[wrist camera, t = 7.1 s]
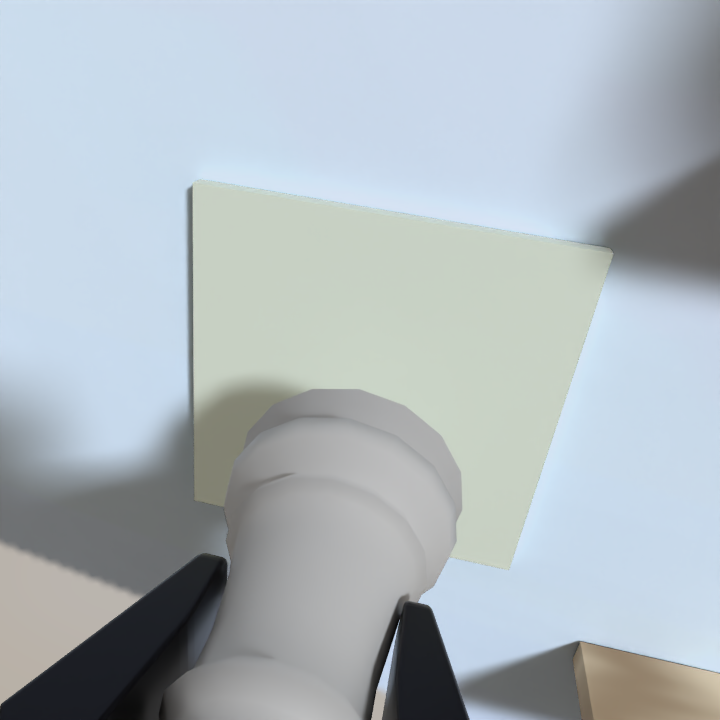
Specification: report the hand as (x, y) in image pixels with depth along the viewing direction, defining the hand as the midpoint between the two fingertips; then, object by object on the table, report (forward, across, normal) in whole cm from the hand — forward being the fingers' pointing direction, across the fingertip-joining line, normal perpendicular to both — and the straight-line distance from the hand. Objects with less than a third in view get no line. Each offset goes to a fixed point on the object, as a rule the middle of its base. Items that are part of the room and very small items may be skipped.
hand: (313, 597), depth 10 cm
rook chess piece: (+3, 0, 0) cm, 3 cm away
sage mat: (+6, 0, 0) cm, 7 cm away
